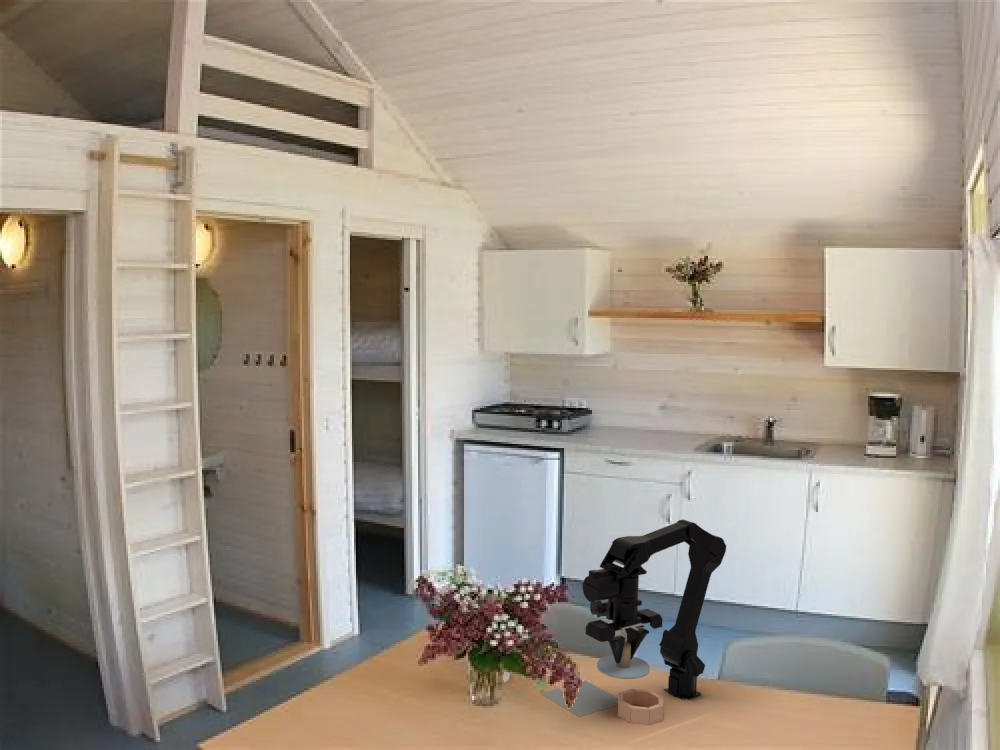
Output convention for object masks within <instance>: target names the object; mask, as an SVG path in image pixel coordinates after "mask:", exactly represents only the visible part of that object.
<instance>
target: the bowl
mask: <svg viewBox="0 0 1000 750" xmlns="http://www.w3.org/2000/svg"><path fill="white" fill-rule="evenodd" d="M617 698H618V705H617V717H619V718H621V719H623V720H625V721H626V722H628V723H630V724H637V725H645V726H649V725H654V724H656V723H659V722H662V721H663V720H664V718H663V717H664V697H663V696H662V695H659V694H658V693H655V692H654V691H652V690H650V689H649V690H647V689H637V688H630V689H627V690H623V691H620V692H619V693H618V697H617Z"/></svg>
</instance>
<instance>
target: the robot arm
mask: <svg viewBox="0 0 1000 750" xmlns="http://www.w3.org/2000/svg"><path fill="white" fill-rule="evenodd" d="M681 543H686V544H687V545H688V547H689V548H688V552H687V555H688V558H689V560H688V561H689V563H690V569H689V573H688V577H687V580H686V584H685V587H684V591H683V594H682V599H681V601H680V606H679V609H678V613H677V616H676V619H675V623H674V625H673V626H672V627H671V628H670V629H669V630H668V629H664V630H663V632H662V637H661V640H660V643H659V646H660V648H659V649H660V650H659V653H660V654H661V655H660V656H661V657H662V660H663V663H664V665H666V666H669V667H670V669H669V676H668V681H667V682H668V683H667V684H668V687H667V688H664V689H663V691H664V692H666V693H667V694H669V695H671V696H674V697H677V698H678V699H680V700H684V701H685V700H689V701H690V700H692V699H694V698H697V697H700V696H702V692H699V690H697V684H698V683H697V682H698V677H699V676H700V675H703V673H704V670H705V667H706V664H705V663H704V662H703V660H701V658H700V657H699V656H698V650H699V642H698V637H697V633H696V632H697V627H698V624H699V619H700V616H701V612H702V609H703V605H704V602H705V597H706V594H707V590H708V588H709V587H708V586H709V583H710V580H711V576H712V574H713V572H715V570H717V568H719V567H720V566H721V564H722V562H723V559H724V556H725V555H726V551H727V544H726V542H725V540H724V538H722V537H720V536H717V535H716V534H715V535H714V534H712V533H710V532H708V531H707V530H705V529H703V528H702V527H701V526H699V525H698V524H697V523H696V522H692V521H690V520H687V519H679V520H678V521H676V522H675V523H672V524H669V525H667V526H663V527H661V528H659V529H656V530H653V531H651V532H649V533H645V534H642V535H627V536H621V537H616V538H614V540H612V544H611V545H610V548H609V549H608V551H607V552H606V554H605V556H604V558H603V559H602V561H601V562H600V565H599V568H600V569H592V570H589V571H588V576H585V578H584V580H583V582H582V586H581V587H582V593H583V595H584V597H585V599H586V600H587V601H588V602H590V603H589V604H590V605H589V609H590V614H591V615H592V616H593V615H594V616H595V615H596V618H601V617H605V619H606V620H608V621H612V622H610V623H608V622H606V621H604V620H602V619H598V620H593V621H588V622H587V624H586V625H585V635H586V636H589V637H590V638H592V639H594V640H596V641H598V642H602V643H605V642H608V644H609V647H610V650H611V652H612V655H613V656H614V659H615V662H616V663H620V661H621V657H622V652H623V648H624V643H625V642H629V643H630V644H631V660H632V658H633V657H635V654H636V652H637V650H638V649H639V647H640V645H641V644H642V643H643V640H644V639H645V637H646V636H647V635H648V634H650V630H648V629H646V624H649V626H650V628H652V629H653V630H656V629H660V628H663V617H662V615H661V614H660V613H659V612H656V611H653V610H651V609H649V608H643V609H639V606H642V604H643V600H641V599H639V586H640V585H639V583H640V581H639V580H640V577H639V576H642V575H647V570H646V569H645V568H644V567H643V565H644V564H646V563H648V561H649V560H650V558H651V557H652V556H653V555H654V554H657V553H660V552H662V551H664V550H666V549H670V548H672V547H674V546H677V545H679V544H681ZM618 564H619V565H618ZM622 566H623V567H622ZM623 630H624V631H625V633H626V637H625V636H623V635H622V631H623Z"/></svg>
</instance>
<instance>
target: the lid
mask: <svg viewBox="0 0 1000 750" xmlns="http://www.w3.org/2000/svg"><path fill="white" fill-rule="evenodd" d="M596 668H597V670H598V671H599V672H600V673H601V674H603V675H605V676H607V677H611V678H613V679H614V678H615V679H622V680H634V679H640V678H644V677H645V676H648V674H649V673H650V670H651V666H650V664H649V663H648V662H647V661H646V660H644V659H642V658H640V657H636V656H633V658H632V660H631V644H630V643H629V642H627V641H625V643H624V648H623V652H622V657H621V661H620V663H616V662H615V659H614V656H613V654H610V655H606V656H603V657H601V658H599V659H598V660H597V662H596Z"/></svg>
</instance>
